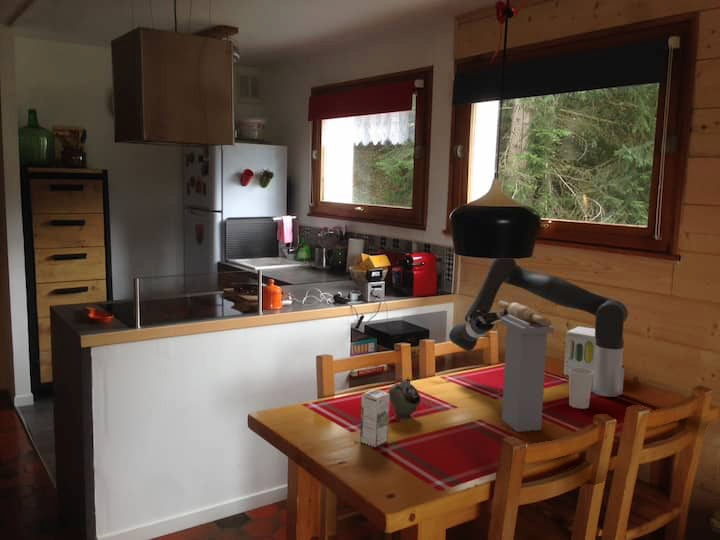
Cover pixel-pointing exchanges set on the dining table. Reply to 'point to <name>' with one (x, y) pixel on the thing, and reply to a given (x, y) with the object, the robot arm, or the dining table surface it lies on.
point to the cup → (580, 387)
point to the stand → (524, 373)
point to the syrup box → (374, 417)
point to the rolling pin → (524, 313)
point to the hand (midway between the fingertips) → (497, 309)
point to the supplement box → (580, 349)
